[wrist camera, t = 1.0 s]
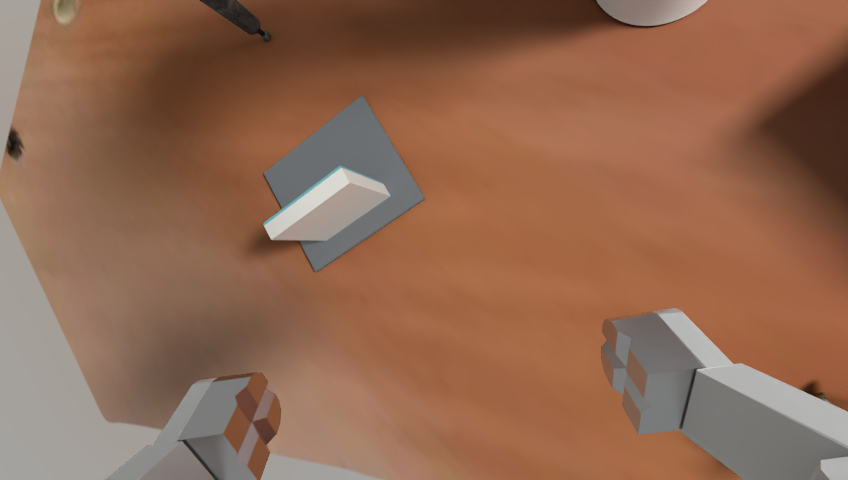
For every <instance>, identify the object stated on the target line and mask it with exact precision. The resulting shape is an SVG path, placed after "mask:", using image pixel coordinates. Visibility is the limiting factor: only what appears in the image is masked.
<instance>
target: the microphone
mask: <svg viewBox="0 0 848 480" xmlns="http://www.w3.org/2000/svg"><path fill="white" fill-rule="evenodd" d="M200 1H201V2H203V3H204V4H206V5H207V6H209V7H210V8H212V9H213V10H215V11H216V12H218V13H219V14H220V15H222V16H223V17H225V18H226V19H228V20H229V21H231V22H232V23H234V24H235V25H237V26H238V27H240V28H241V29H242V30H244V31H245V32H247V33H248V34H250V35H253V34H256V33H259V34H260V35H261V36H262V38H263V40H265V41H268V40H270V34H269V33H268V32H266V31H262V30H261V29H260V22H259V20H258V19H257V18H256V17H255V16H254V15H253V14H252V13H251V12H249V11H248V10H247V9H246V8H245V7H244V6H243V5H241V4H240V3H239V2H238V1H237V0H200Z"/></svg>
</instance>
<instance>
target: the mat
mask: <svg viewBox="0 0 848 480" xmlns="http://www.w3.org/2000/svg"><path fill="white" fill-rule="evenodd" d="M339 166H343V167H345V168H348V169H350V170H353V171H355V172H358V173H360V174H363V175H365V176H368V177H370V178H373V179H375V180H378V181H380V182H383V184H384V186H385V187H386V189H387V191H388V192H389V194H390V197H389V198H387V199H386V200H384V201H383V202H381V203H380V204H378V205H377V206H376V207H374V208H373V209H371V210H370V211H368V212H367V213H366V214H364V215H363V216H361V217H360V218H358V219H357V220H355V221H354V222H353V223H351V224H350V225H348V226H347V227H345V228H344V229H343V230H341V231H340V232H338V233H337V234H335V235H334V236H332V237H331V238H330V239H328V240H327V241H313V240H299V242H300V244H301V245H302V247H303V249H304V251H305V253H306V255H307V257H308V259H309V261H310V263H311V264H312V266H313V268H314V270H315V272H318V271H319V270H321V269H322V268H324V267H325V266H327V265H328V264H330V263H331V262H333V261H334V260H336V259H337V258H339V257H340V256H342V255H343V254H345V253H346V252H347V251H349V250H350V249H352V248H353V247H355V246H356V245H358V244H359V243H361V242H362V241H364V240H365V239H367V238H368V237H370V236H371V235H373V234H374V233H376V232H377V231H379V230H380V229H382V228H383V227H385V226H386V225H388V224H389V223H391V222H392V221H393V220H395V219H396V218H398V217H399V216H401V215H402V214H404V213H405V212H407V211H408V210H410V209H411V208H413V207H414V206H416V205H417V204H419V203H420V202H422V201H423V200H425V197H424V196H423V194H422V192H421V191H420V189H419V187H418V186H417V184H416V182H415V181H414V179H413V177H412V176H411V174H410V172H409V171H408V169H407V167H406V166H405V164H404V162H403V161H402V159H401V157H400V156H399V154H398V152H397V151H396V149H395V147H394V146H393V144H392V142H391V141H390V139H389V137H388V136H387V134H386V132H385V131H384V129H383V127H382V126H381V124H380V122H379V121H378V119H377V117H376V116H375V114H374V112H373V111H372V109H371V107H370V106H369V104H368V102H367V101H366V99H365V97H364V96H363V95H361V96H360V97H359V98H357V99H356V100H355V101H354V102H352V103H351V104H350V105H349V106H347V107H346V108H345V109H344V110H342V111H341V112H340V113H339V114H337V115H336V116H335V117H334V118H332V119H331V120H330V121H329V122H327V123H326V124H325V125H324V126H322V127H321V128H320V129H319V130H317V131H316V132H315V133H313V134H312V135H311V136H310V137H308V138H307V139H306V140H305V141H303V142H302V143H301V144H300V145H298V146H297V147H296V148H295V149H293V150H292V151H291V152H290V153H288V154H287V155H286V156H285V157H283V158H282V159H281V160H280V161H278V162H277V163H276V164H275V165H273V166H272V167H271V168H270V169H268V170H267V171H266V172H265V173H264V175H265V177H266V179H267V181H268V183H269V185H270V186H271V188H272V190H273V192H274V194H275V196H276V198H277V200H278V202H279V204H280V205H281V207H282V209H283V208H284V207H285V206H287V205H288V204H289V203H291V202H292V201H293V200H295V199H296V198H297V197H299V196H300V195H301V194H303V193H304V192H305V191H307V190H308V189H309V188H311V187H312V186H313V185H315V184H316V183H317V182H319V181H320V180H321V179H323V178H324V177H325V176H327V175H328V174H329V173H331V172H332V171H333V170H335V169H336V168H337V167H339Z"/></svg>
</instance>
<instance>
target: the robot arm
mask: <svg viewBox="0 0 848 480" xmlns="http://www.w3.org/2000/svg"><path fill="white" fill-rule="evenodd" d="M596 1H597V3H598V4H599V5H600V7H601V8H602V9H603V10H604V11H605V12H606V13H608V14H609V15H610V16H612V17H613V18H615V19H617V20H619V21H622V22H624V23H628V24H632V25H639V26H654V25H661V24H666V23H669V22H672V21H675V20H678V19H680V18H682V17H685V16H687V15H688V14H690V13H692V12H693V11H695V10H696V9H698V8H699V7H701V6H702V5H703V4H704V3H705V2H706V1H708V0H596ZM602 333H603V334H604V336H605V338H606V339H607V341H606V342H605V343H604V344H603V345H602V346H601V360H602V364H603V369H604V372H605V374H606V377H607V379H608V381H609V383H610V385H611V386H612V388H613V389H615V390H616V391H618V392H619V393H621V394H622V395H623V403H622V406H623V408H624V410H625V412H626V413H627V415H628V417H629V419H630V420H631V422H632V424H633V426H634V428H635V429H636V431H637V433H638V434H646V433H656V432H666V431H676V430H682V431H681V432H682V433H683V434H684V435H685V436H687V437H688V438H689V439H691V440H692V441H693V442H695V443H696V444H697V445H699V446H700V447H701V448H703V449H704V450H705V451H707V452H708V453H709V454H711V455H712V456H713V457H715V458H716V459H717V460H719V461H720V462H721V463H722V464H724V465H725V466H726V467H728V468H729V469H730V470H732V471H733V472H734V473H736V474H737V475H738V476H740V477H741V478H742V479H744V480H848V411H845V410H843V409H841V408H839V407H837V406H834V405H832V404H830V403H828V402H826V401H823V400H821V399H819V398H817V397H815V396H812V395H810V394H808V393H806V392H804V391H801V390H799V389H797V388H795V387H793V386H790V385H788V384H786V383H784V382H782V381H779V380H777V379H775V378H773V377H771V376H768V375H766V374H764V373H762V372H760V371H757V370H755V369H753V368H751V367H749V366H746V365H744V364H742V363H740V364H733V363H732V362H731V361H730V360H729V359H728V358H727V357H726V356H725V355H724V354H723V353H722V352H721V351H720V350H719V349H718V348H717V347H716V346H715V345H714V344H713V343H712V342H711V341H710V340H709V339H708V338H707V337H706V335H705V334H704V333H703V332H702V331H701V330H700V329H699V328H698V327H697V326H696V325H695V324H694V323H693V322H692V321H691V320H690V319H689V318H688V317H687V316H686V315H685V314H684V313H683V312H682V311H681V310H679V309H677V308H671V309H665V310H659V311H653V312H647V313H640V314H634V315H628V316H622V317H616V318H609V319H605V321H604V323H603V328H602ZM267 384H268V381H267V379H266V378H265V376H264V375H263V373H258V372H255V373H247V374H239V375H231V376H223V377H218V378H210V379H202V380H198V381H197V382H195V383H194V384H193V385H192V386H191V387H190V389H189V390H188V392H187V394H186V395H185V397H184V398H183V400H182V401H181V403H180V404H179V406H178V407H177V409H176V410H175V412H174V414H173V415H172V417H171V418H170V420H169V421H168V423H167V424H166V426H165V427H164V429H163V430H162V432H161V434H160V435H159V437H158V438H157V440H156V441H155V443H154V444H153V445H149V446H146V447H145V448H143V449H142V450H141V451H140V452H139V453H137V454H136V455H135V456H134V457H133V458H131V459H130V460H129V461H128V462H126V463H125V464H124V465H123V466H121V467H120V468H119V469H118V470H117V471H115V472H114V473H113V474H112V475H110V476H109V477H108V478H107V479H106V480H260V479H261V476H262V473H263V471H264V468H265V465H266V462H267V460H268V457H269V454H270V452H269V449H268V446H267V444H268V443H269V442H270V441H271V440H272V438H273V437H274V436H275V435H276V434H277V431H278V428H279V425H280V419H281V407H280V403H279V400H278V398H277V396H276V395H275V394H274V393H272V392H271V391H269V390H267V389H266V386H267Z"/></svg>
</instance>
